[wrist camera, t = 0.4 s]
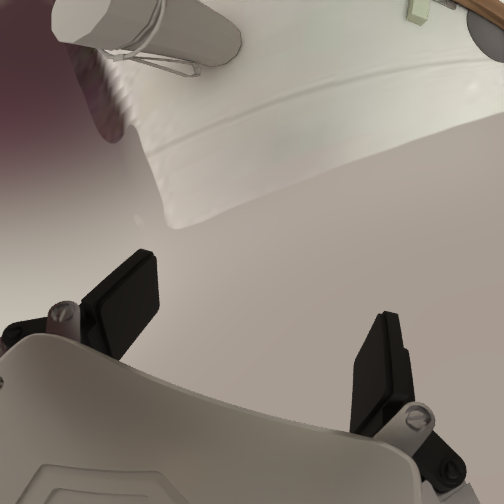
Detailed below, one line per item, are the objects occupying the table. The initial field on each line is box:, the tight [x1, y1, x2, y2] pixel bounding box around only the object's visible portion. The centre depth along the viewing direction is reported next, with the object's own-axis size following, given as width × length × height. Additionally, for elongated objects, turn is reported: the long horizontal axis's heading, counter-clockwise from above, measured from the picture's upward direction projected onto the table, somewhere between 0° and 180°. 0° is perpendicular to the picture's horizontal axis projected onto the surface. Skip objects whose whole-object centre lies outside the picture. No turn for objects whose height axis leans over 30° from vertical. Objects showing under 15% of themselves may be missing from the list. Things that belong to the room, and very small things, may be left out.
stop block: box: [407, 0, 430, 25], centre depth 22 cm, size 4×2×3 cm, turn 169°
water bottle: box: [52, 0, 241, 77], centre depth 23 cm, size 9×8×25 cm
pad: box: [467, 10, 504, 62], centre depth 20 cm, size 9×9×1 cm
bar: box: [453, 0, 504, 30], centre depth 17 cm, size 4×11×4 cm, turn 79°
